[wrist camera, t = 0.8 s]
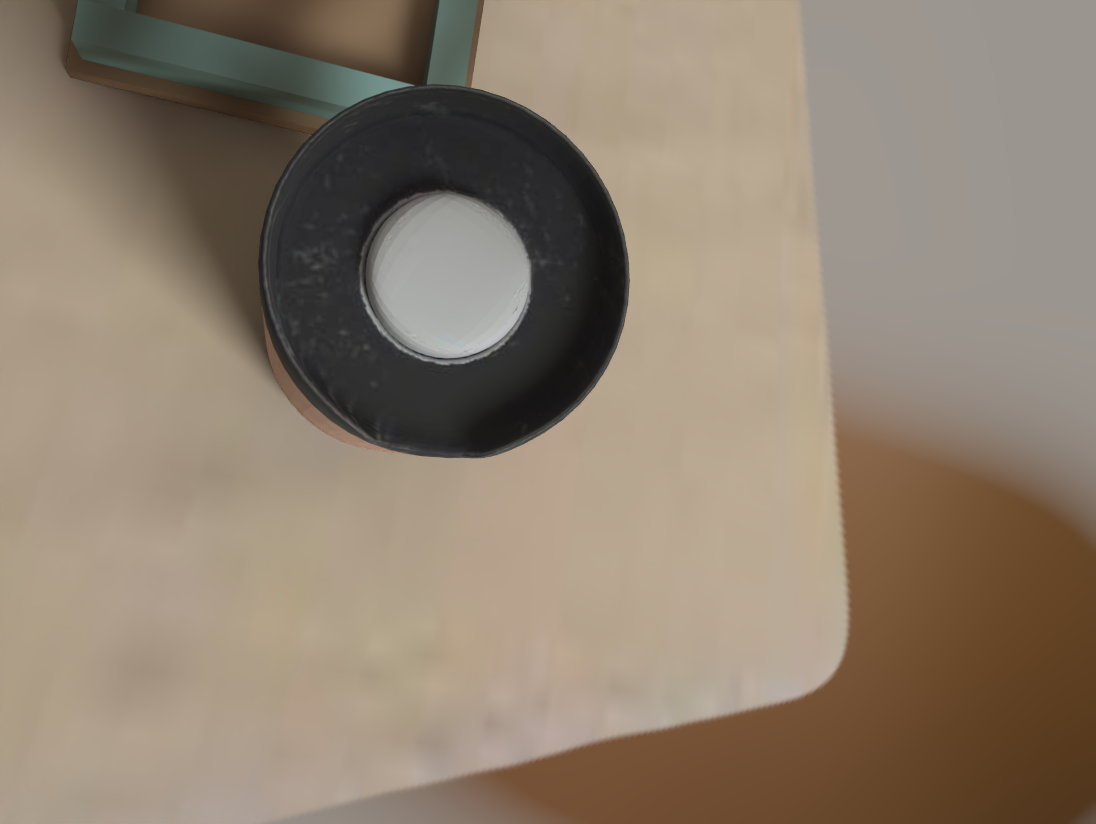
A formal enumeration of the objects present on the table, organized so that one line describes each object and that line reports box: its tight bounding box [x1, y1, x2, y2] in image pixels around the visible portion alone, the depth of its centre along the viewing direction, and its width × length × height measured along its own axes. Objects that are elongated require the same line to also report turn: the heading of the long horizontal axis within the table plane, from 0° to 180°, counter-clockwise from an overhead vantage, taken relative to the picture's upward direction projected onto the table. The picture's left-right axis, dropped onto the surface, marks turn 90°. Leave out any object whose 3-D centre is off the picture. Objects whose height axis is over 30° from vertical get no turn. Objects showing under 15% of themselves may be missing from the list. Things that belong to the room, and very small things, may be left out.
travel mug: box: [258, 84, 630, 458], centre depth 27 cm, size 8×8×20 cm
